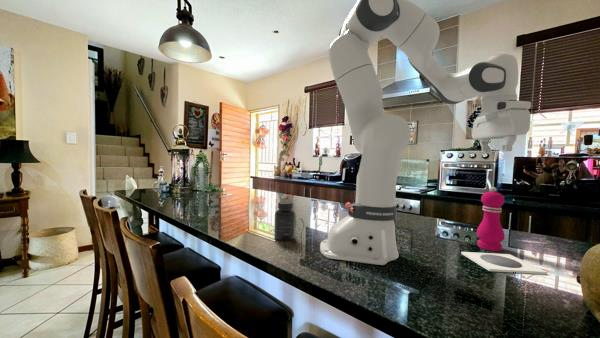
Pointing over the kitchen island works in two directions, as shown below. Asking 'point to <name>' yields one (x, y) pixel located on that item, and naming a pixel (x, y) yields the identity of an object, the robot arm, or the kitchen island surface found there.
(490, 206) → the pepper mill
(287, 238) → the supplement bottle
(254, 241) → the kitchen island surface
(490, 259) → the white coaster
